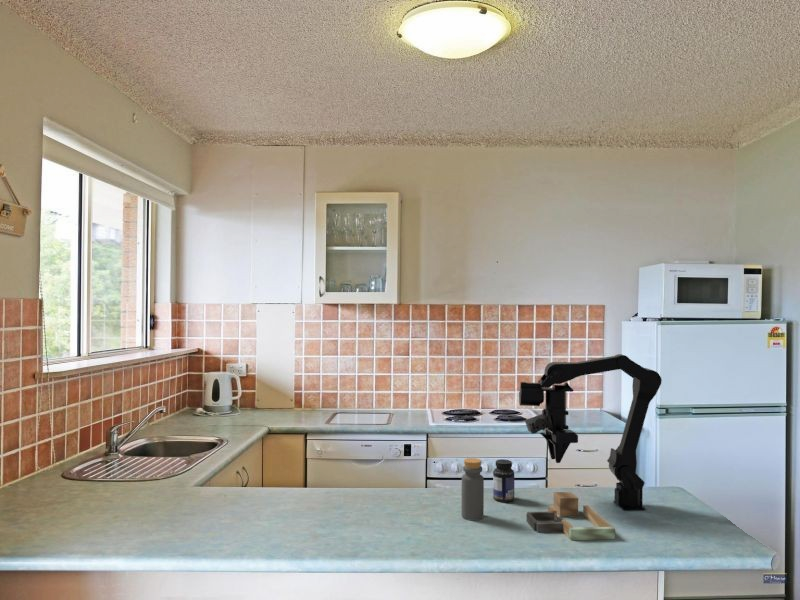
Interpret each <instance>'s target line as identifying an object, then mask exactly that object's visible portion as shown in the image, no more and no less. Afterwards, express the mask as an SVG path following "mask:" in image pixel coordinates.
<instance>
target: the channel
mask: <svg viewBox="0 0 800 600" xmlns="http://www.w3.org/2000/svg"><path fill="white" fill-rule="evenodd" d="M582 507H583V510H582V515H583V516H584V517H585V518H586V519H587V520H588V521H589V522H590V523H591V524H593V525H594V526H588V527H587V526H586V527H583V526H582V527H574V526H573V525H572V524H571V523H570V522H569V521H568V520H567V519H561V521H558V514H557V510H556V509H555V508H554V505H548V506H547V511H527V512H526V514H525V515H526V518H525V519H526V522H527V523H528V525H529V526H530V528H532V530H533V531H534V532H537V533H557V532H563V534H564V535H565V536H567V538H568V539H569V540H570V541H578V540H579V541H581V540H582V541H583V540H584V541H585V540H587V541H588V540H589V541H590V540H591V541H592V540H615V539H616V528H615V527H614V526H612V525H611V524H610V523H609V522H608V521H607V520H606V519H604V518H603V517H602V516H601V515H599V513H598V512H596V511H595V510H594V509H593V508H591V507H590V506H589V505H587V504H586V505H585V504H584V505H582Z"/></svg>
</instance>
